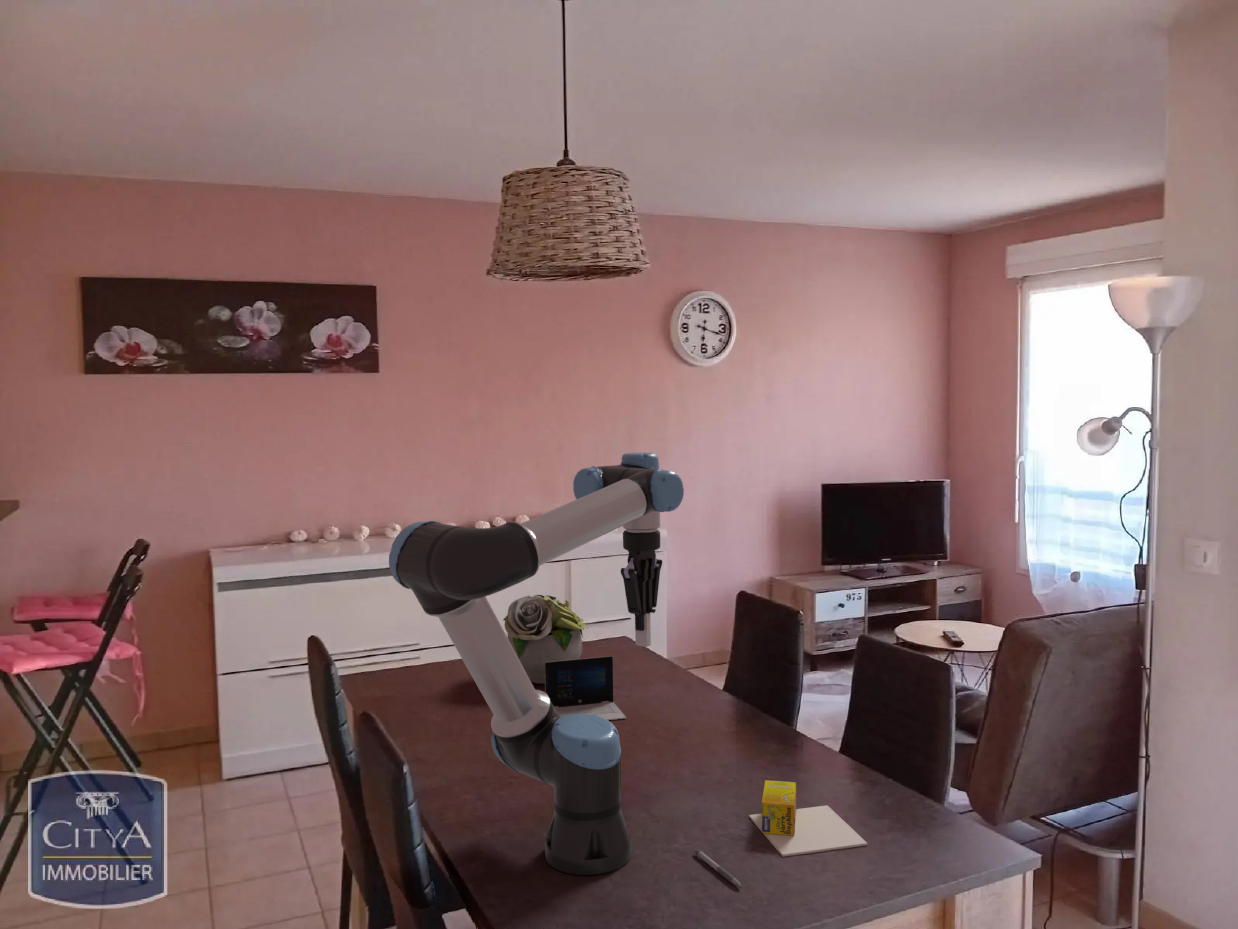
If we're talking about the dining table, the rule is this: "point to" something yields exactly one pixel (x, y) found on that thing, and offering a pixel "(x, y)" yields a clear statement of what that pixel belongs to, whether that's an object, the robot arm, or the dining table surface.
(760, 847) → the dining table surface
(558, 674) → the laptop
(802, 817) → the mat
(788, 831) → the supplement box
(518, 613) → the flower arrangement
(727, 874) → the pen
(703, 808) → the dining table surface
